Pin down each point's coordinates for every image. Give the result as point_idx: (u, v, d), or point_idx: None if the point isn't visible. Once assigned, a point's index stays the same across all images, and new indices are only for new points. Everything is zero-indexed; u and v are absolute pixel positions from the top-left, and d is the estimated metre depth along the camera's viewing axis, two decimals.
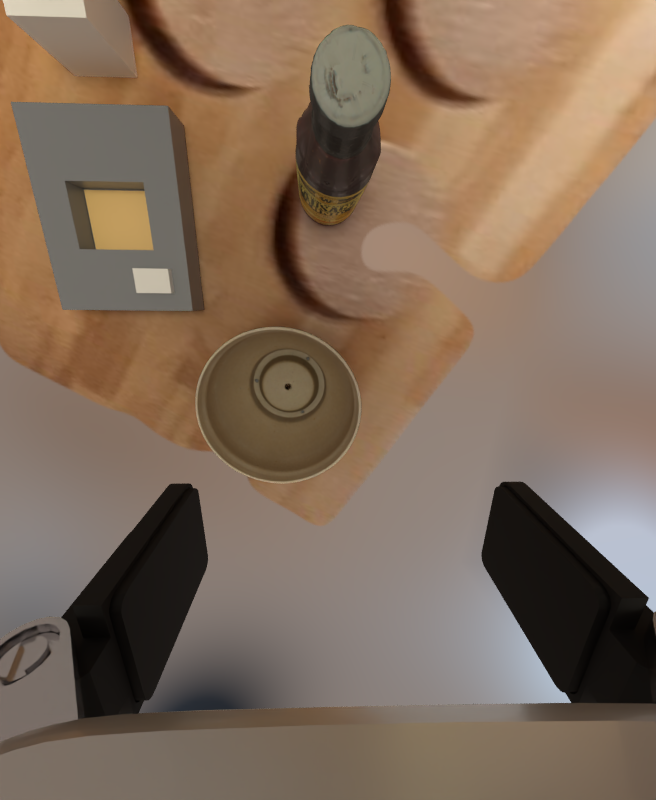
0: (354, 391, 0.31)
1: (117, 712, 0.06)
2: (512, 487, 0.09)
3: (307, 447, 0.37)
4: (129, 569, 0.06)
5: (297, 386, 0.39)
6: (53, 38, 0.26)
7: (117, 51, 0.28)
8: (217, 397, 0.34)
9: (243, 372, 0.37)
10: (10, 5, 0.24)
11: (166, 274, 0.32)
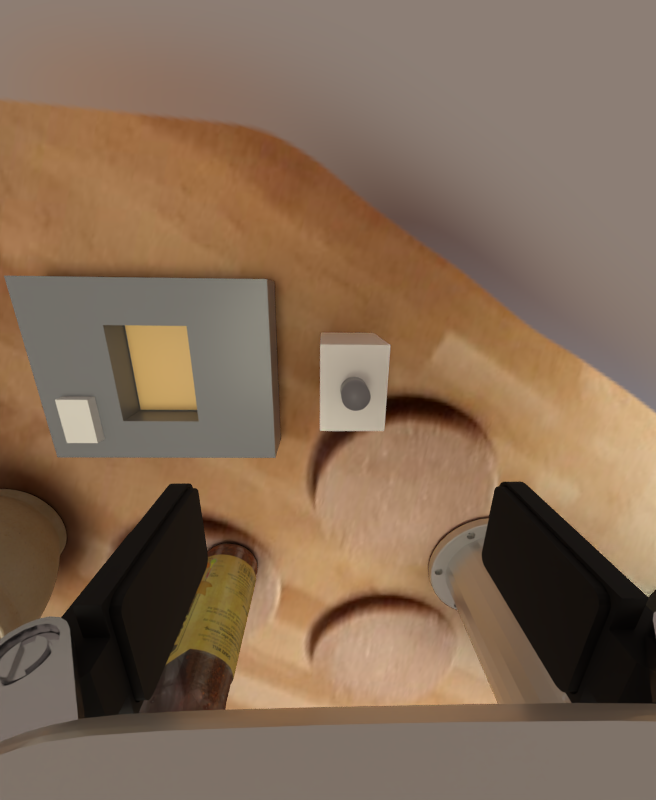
0: None
1: (117, 712, 0.06)
2: (512, 487, 0.09)
3: None
4: (129, 569, 0.06)
5: None
6: None
7: None
8: None
9: None
10: (328, 351, 0.20)
11: (90, 440, 0.25)
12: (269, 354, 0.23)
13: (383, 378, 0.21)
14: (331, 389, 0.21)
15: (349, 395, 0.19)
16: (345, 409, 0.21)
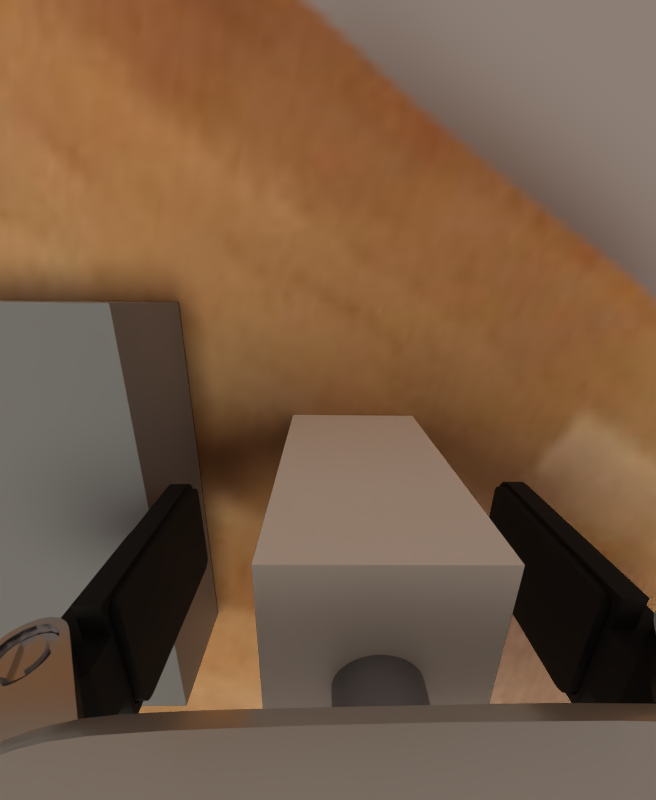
0: None
1: (117, 713, 0.06)
2: (512, 487, 0.09)
3: None
4: (129, 569, 0.06)
5: None
6: None
7: None
8: None
9: None
10: (286, 586, 0.05)
11: None
12: (144, 501, 0.09)
13: (484, 659, 0.06)
14: (300, 686, 0.06)
15: None
16: None
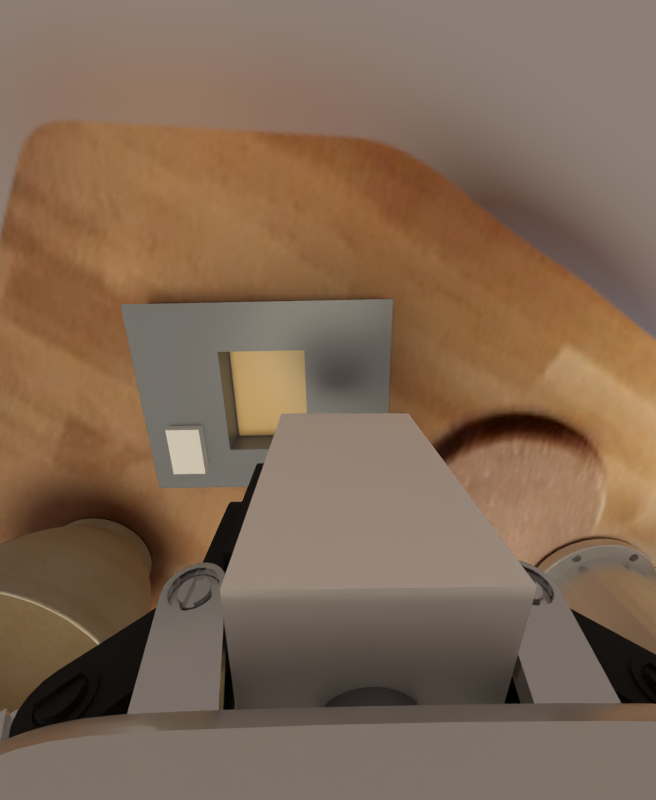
0: None
1: None
2: None
3: None
4: None
5: None
6: None
7: None
8: None
9: None
10: (262, 614, 0.05)
11: (197, 471, 0.24)
12: (388, 377, 0.22)
13: (490, 689, 0.05)
14: None
15: None
16: None
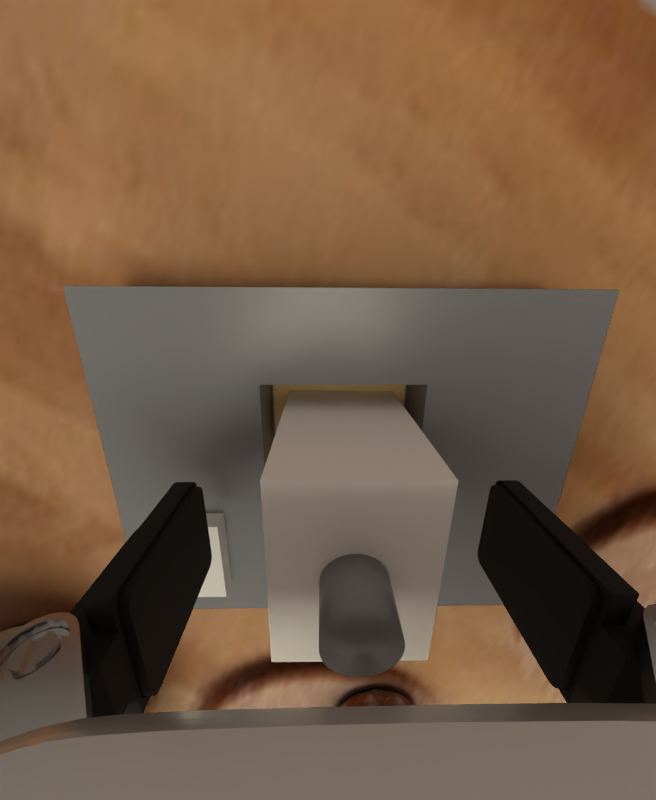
0: None
1: (125, 707, 0.06)
2: (507, 485, 0.09)
3: None
4: (136, 566, 0.06)
5: None
6: None
7: None
8: None
9: None
10: (285, 498, 0.07)
11: (212, 592, 0.13)
12: (575, 436, 0.12)
13: (433, 557, 0.08)
14: (296, 581, 0.08)
15: (342, 645, 0.06)
16: None
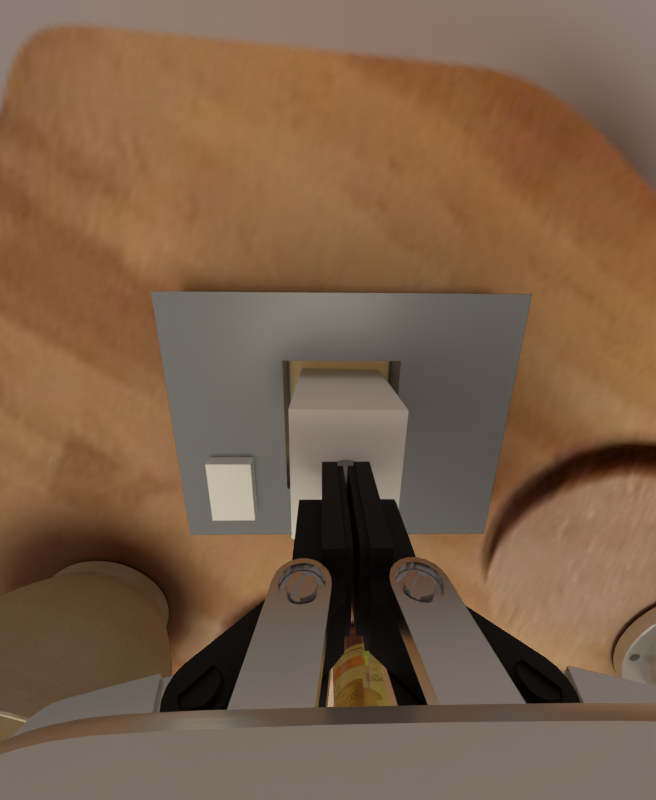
0: None
1: None
2: (355, 465, 0.10)
3: None
4: (342, 524, 0.08)
5: None
6: None
7: None
8: None
9: None
10: (303, 420, 0.12)
11: (244, 517, 0.18)
12: (509, 399, 0.17)
13: (395, 462, 0.12)
14: (309, 478, 0.13)
15: None
16: None
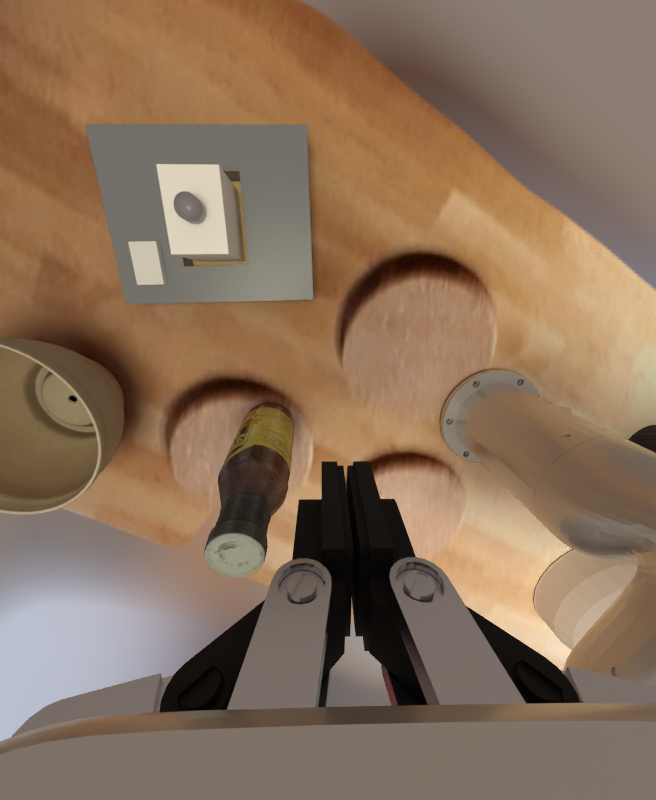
0: (56, 500, 0.30)
1: None
2: (355, 465, 0.10)
3: None
4: (342, 524, 0.08)
5: (76, 409, 0.35)
6: None
7: (190, 258, 0.28)
8: None
9: None
10: (165, 171, 0.23)
11: (157, 281, 0.29)
12: (308, 197, 0.28)
13: (218, 199, 0.24)
14: (174, 210, 0.24)
15: (180, 204, 0.22)
16: (190, 231, 0.24)
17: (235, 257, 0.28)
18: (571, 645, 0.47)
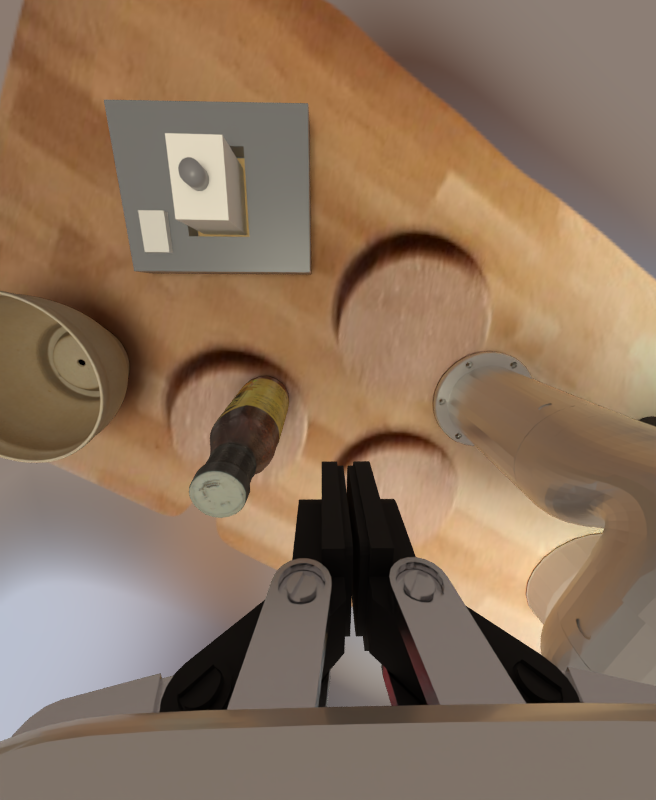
0: (60, 452, 0.32)
1: None
2: (355, 465, 0.10)
3: None
4: (342, 524, 0.08)
5: (84, 372, 0.37)
6: None
7: (195, 228, 0.30)
8: None
9: None
10: (172, 140, 0.25)
11: (163, 249, 0.31)
12: (308, 173, 0.30)
13: (220, 167, 0.25)
14: (179, 177, 0.26)
15: (184, 169, 0.24)
16: (193, 197, 0.26)
17: (236, 227, 0.29)
18: None
